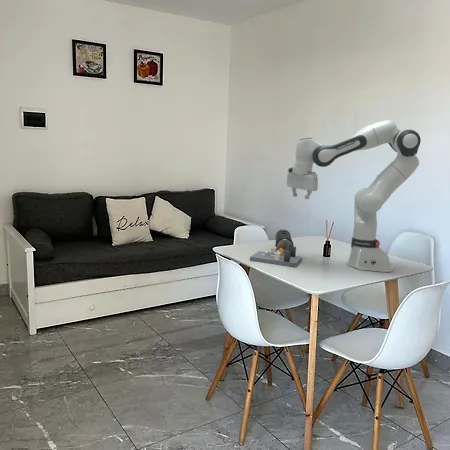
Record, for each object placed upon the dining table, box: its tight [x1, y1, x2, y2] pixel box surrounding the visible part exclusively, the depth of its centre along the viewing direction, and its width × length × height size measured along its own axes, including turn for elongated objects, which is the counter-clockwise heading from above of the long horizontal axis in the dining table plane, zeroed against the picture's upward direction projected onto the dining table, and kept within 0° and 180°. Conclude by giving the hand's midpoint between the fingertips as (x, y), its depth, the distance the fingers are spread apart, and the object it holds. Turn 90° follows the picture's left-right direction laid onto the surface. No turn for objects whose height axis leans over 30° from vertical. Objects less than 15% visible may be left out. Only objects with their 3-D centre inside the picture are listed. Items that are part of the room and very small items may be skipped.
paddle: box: [278, 248, 284, 257], centre depth 235 cm, size 2×4×4 cm, turn 157°
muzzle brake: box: [274, 229, 295, 251], centre depth 254 cm, size 10×28×10 cm, turn 174°
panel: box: [249, 245, 304, 268], centre depth 236 cm, size 24×14×7 cm, turn 67°
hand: (300, 197), depth 233 cm, fingers open, 8 cm apart
